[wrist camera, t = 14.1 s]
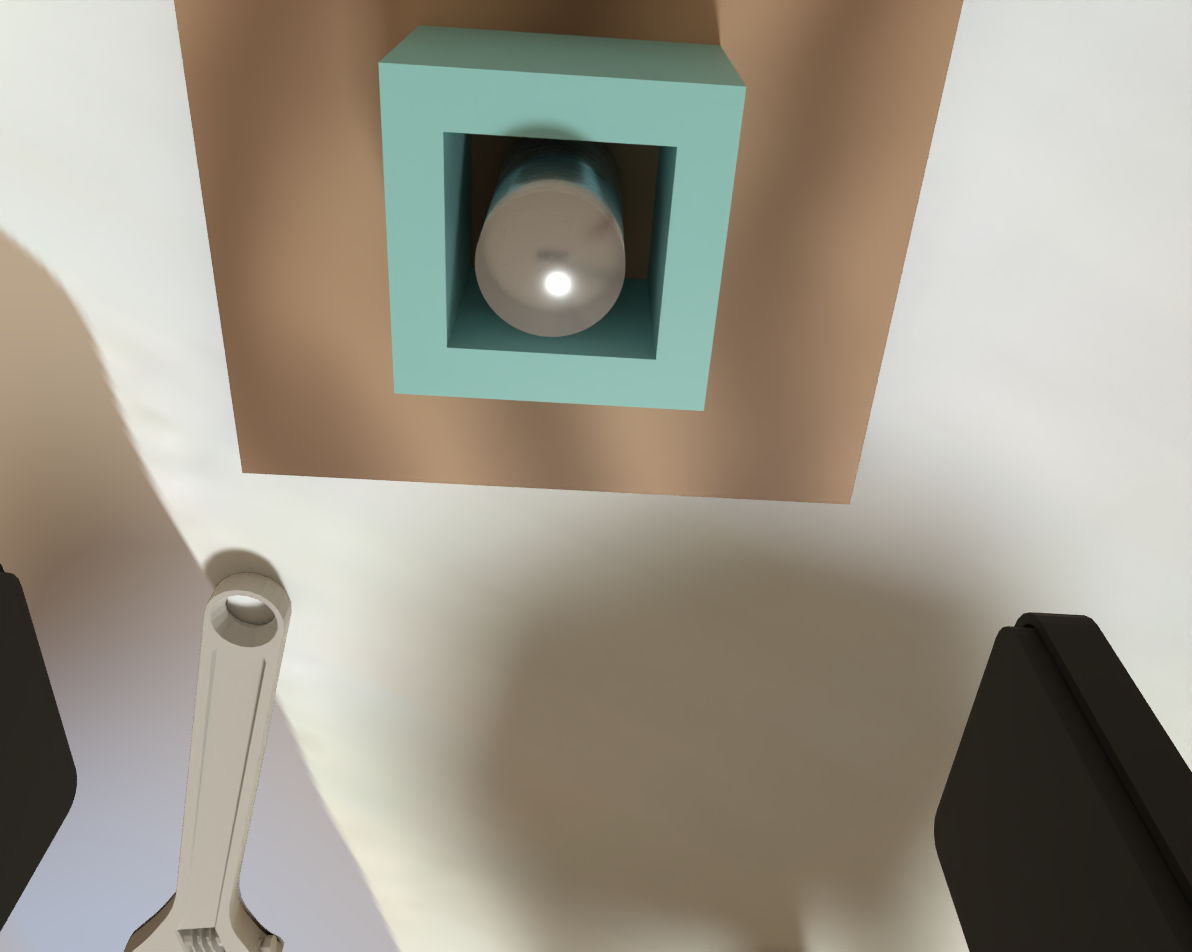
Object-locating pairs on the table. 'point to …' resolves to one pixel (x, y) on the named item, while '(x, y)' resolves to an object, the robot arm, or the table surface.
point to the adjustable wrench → (223, 778)
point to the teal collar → (570, 112)
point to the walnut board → (751, 260)
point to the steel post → (553, 237)
